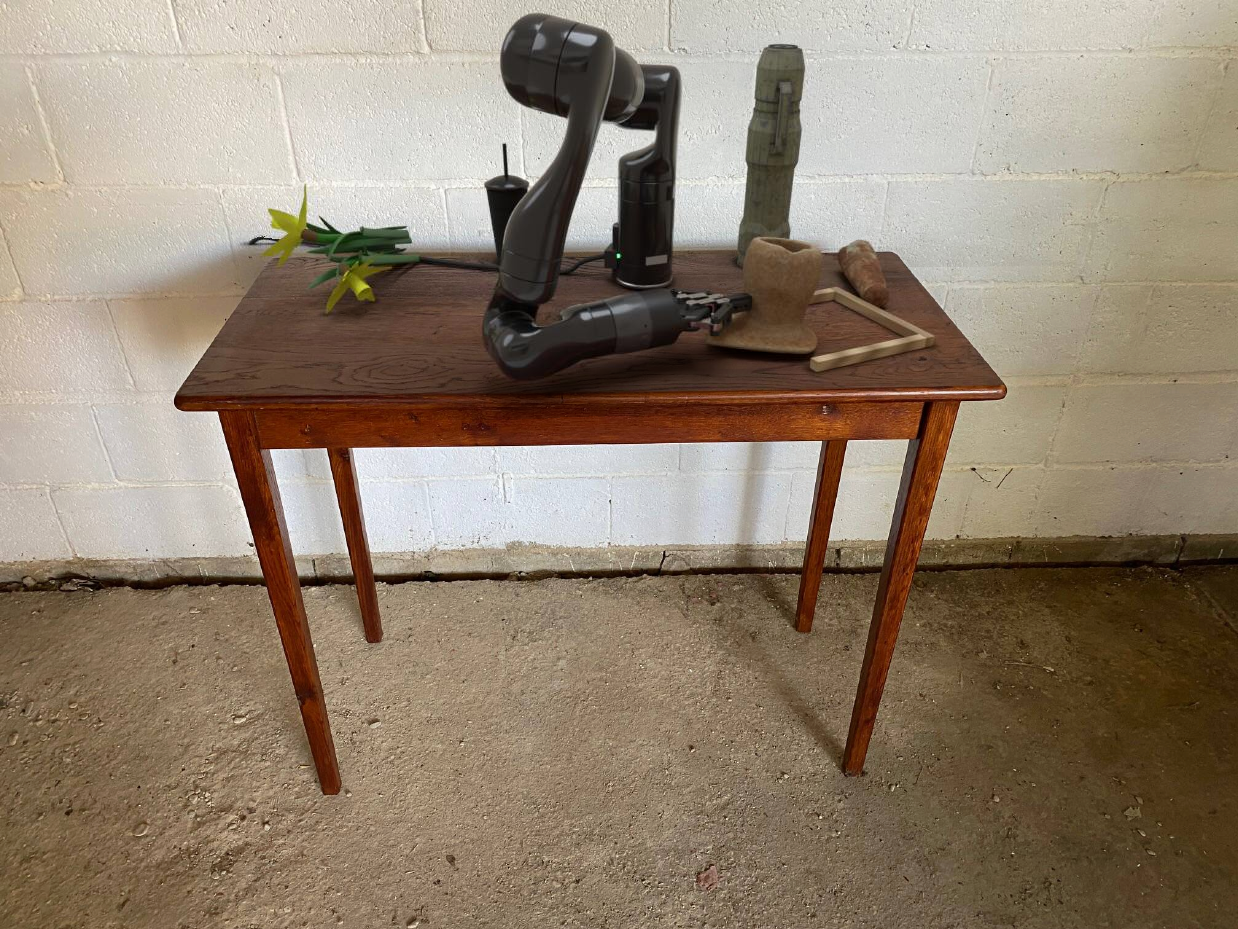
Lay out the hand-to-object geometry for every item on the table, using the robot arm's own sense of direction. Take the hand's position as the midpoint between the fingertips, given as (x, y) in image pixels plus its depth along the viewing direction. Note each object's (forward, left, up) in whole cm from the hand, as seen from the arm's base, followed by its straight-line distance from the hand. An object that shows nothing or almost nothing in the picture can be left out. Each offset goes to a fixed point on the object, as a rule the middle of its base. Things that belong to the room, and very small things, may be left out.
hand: (748, 300), depth 115 cm
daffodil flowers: (-62, -16, -7) cm, 65 cm away
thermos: (-14, +34, -7) cm, 38 cm away
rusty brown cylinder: (+6, +33, -7) cm, 34 cm away
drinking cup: (-51, +9, -7) cm, 52 cm away
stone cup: (+2, +2, -7) cm, 8 cm away
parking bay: (+7, +12, -7) cm, 15 cm away
